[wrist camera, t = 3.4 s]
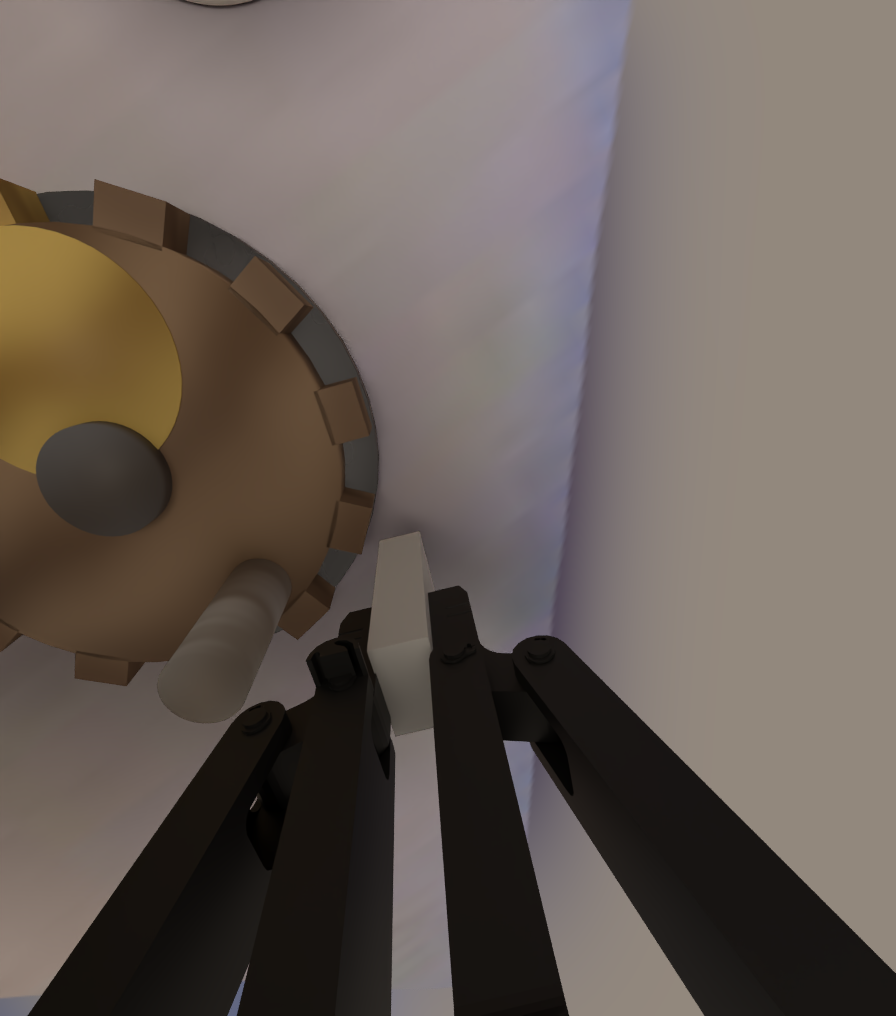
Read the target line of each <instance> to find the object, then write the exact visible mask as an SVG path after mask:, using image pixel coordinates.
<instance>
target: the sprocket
mask: <svg viewBox="0 0 896 1016" xmlns="http://www.w3.org/2000/svg"><path fill="white" fill-rule="evenodd" d="M189 223H190V215H189V214H188V213H186V212H184V211H182V210H180V209H178V208H177V207H175V206H173V205H171V204H169V203H168V202H165V201H162V200H159V199H156V198H153V197H150V196H146V195H143V194H140V193H137V192H134V191H131V190H127V189H124V188H121V187H118V186H115V185H111V184H108V183H105V182H102V181H99V180H96V179H95V181H94V206H93V226H92V225H82V224H72V223H62V222H50V221H49V219H48V217H47V215H46V212H45V210H44V208H43V206H42V204H41V202H40V200H39V198H38V196H37V194H36V192H34V191H32V190H29V189H26V188H24V187H21V186H19V185H16V184H13V183H11V182H8V181H5V180H3V179H0V652H1V651H3V650H4V649H5V648H6V647H8V646H9V645H10V644H11V643H13V642H14V641H15V640H16V639H18V638H19V637H20V636H21V635H25V636H28V637H30V638H33V639H35V640H37V641H40V642H42V643H45V644H47V645H50V646H54V647H57V648H60V649H63V650H66V651H70V652H73V653H76V656H75V678H76V679H82V680H89V681H96V682H102V683H109V684H116V685H122V686H127V685H128V684H129V682H130V681H131V680H132V678H133V677H134V676H135V675H136V673H137V672H138V671H139V669H140V668H141V667H142V666H143V664H144V663H145V662H161V661H169V662H168V663H167V664H166V666H165V667H164V669H163V670H162V672H161V673H160V675H159V678H158V683H157V688H158V693H159V696H160V698H161V700H162V702H163V703H164V705H165V706H166V707H167V708H168V709H169V710H170V711H171V712H173V713H174V714H176V715H177V716H179V717H181V718H183V719H186V720H188V721H192V722H197V723H215V722H220V721H223V720H226V719H228V718H230V717H232V716H233V715H235V714H236V713H237V712H238V711H239V710H240V709H241V707H242V706H243V704H244V702H245V700H246V697H247V695H248V693H249V690H250V688H251V686H252V683H253V681H254V679H255V676H256V674H257V672H258V669H259V667H260V665H261V662H262V660H263V658H264V655H265V653H266V651H267V648H268V646H269V644H270V641H271V639H272V636H273V634H274V632H275V629H276V627H277V625H278V626H279V627H280V628H282V629H283V630H285V631H286V632H287V633H289V634H290V635H291V636H293V637H294V638H296V639H297V640H298V639H299V638H300V637H301V636H302V635H303V634H304V633H305V632H307V631H308V630H309V629H310V628H311V627H312V626H313V625H314V624H315V623H316V622H317V621H318V620H319V619H320V618H321V617H322V616H323V615H324V614H325V613H326V612H327V611H328V610H329V609H330V606H331V602H332V598H333V594H334V591H335V587H334V586H332V585H331V584H330V583H328V582H327V581H326V580H325V579H323V578H322V577H321V576H320V575H318V574H317V573H318V571H319V570H320V567H321V565H322V563H323V561H324V559H325V557H326V555H327V552H328V550H329V548H333V549H337V550H342V551H347V552H352V553H356V554H362V550H363V546H364V541H365V537H366V533H367V529H368V525H369V521H370V517H371V513H372V508H373V502H374V497H375V494H373V493H369V492H364V491H360V490H356V489H352V488H347V487H345V456H344V448H343V443H345V442H348V441H352V440H356V439H359V438H363V437H367V436H369V435H370V432H371V429H372V425H371V421H370V418H369V415H368V412H367V409H366V406H365V402H364V399H363V396H362V393H361V390H360V386H359V383H358V380H357V377H354V378H350V379H346V380H343V381H339V382H335V383H332V384H328V385H324V383H323V381H322V379H321V377H320V376H319V374H318V372H317V370H316V368H315V367H314V365H313V363H312V361H311V360H310V358H309V357H308V355H307V354H306V353H305V351H304V350H303V348H302V347H301V346H300V344H299V343H298V342H297V340H296V339H295V337H294V336H293V335H292V331H293V330H294V329H295V328H296V327H297V326H298V325H299V323H300V322H301V321H302V320H303V319H304V318H305V317H306V315H307V314H308V313H309V312H310V311H311V310H312V309H313V308H314V307H313V306H312V305H311V304H310V303H309V302H308V301H307V300H306V299H305V298H304V297H303V296H302V295H301V294H300V293H299V292H298V291H297V290H296V289H295V288H294V287H293V286H292V285H291V284H290V283H289V282H288V281H287V280H286V279H285V278H284V277H283V276H282V275H281V274H280V273H279V272H278V271H277V270H276V269H275V268H274V267H273V266H272V265H271V264H270V263H268V262H266V261H264V260H262V259H260V258H258V257H256V256H254V258H253V259H252V260H251V261H250V262H249V264H248V265H247V266H246V267H245V268H244V270H243V271H242V272H241V273H240V274H239V276H238V277H237V278H236V279H235V280H234V281H232V280H231V279H229V278H228V277H226V276H225V275H223V274H222V273H220V272H219V271H217V270H215V269H213V268H211V267H209V266H207V265H205V264H203V263H201V262H199V261H197V260H195V259H193V258H192V257H190V256H188V255H186V254H187V244H188V234H189Z"/></svg>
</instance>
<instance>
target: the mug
mask: <svg viewBox="0 0 896 1016" xmlns="http://www.w3.org/2000/svg"><path fill="white" fill-rule="evenodd" d="M186 1H190V2H194V3H199V4H205V5H234V4H240V3H245V2H248V1H252V0H186Z"/></svg>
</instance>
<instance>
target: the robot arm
mask: <svg viewBox="0 0 896 1016" xmlns="http://www.w3.org/2000/svg"><path fill="white" fill-rule="evenodd" d="M306 662H307V665H308V667H309V670H310V672H311V675H312V678H313V680H314V683H315V685H316V691H315V695H314V697H312V698H311V699H309V700H307V701H306V702H304V703H302V704H300V705H298V706H295V707H293V708H291V709H289V710H287V711H286V710H285V708H284V706H283V705H282V704H281V703H279V702H277V701H267V702H262V703H259V704H257V705H254V706H252V707H250V708H248V709H247V710H246V711H244V712H243V713H241V714H240V715H239V716H238V717H237V718H236V719H235V720H234V722H233V723H232V724H231V725H230V727H229V728H228V730H227V731H226V733H225V734H224V735H223V737H222V738H221V740H220V741H219V743H218V744H217V745H216V747H215V748H214V750H213V751H212V753H211V754H210V755H209V757H208V758H207V760H206V761H205V763H204V764H203V765H202V767H201V768H200V770H199V771H198V773H197V774H196V775H195V777H194V778H193V780H192V781H191V783H190V784H189V785H188V787H187V788H186V790H185V791H184V793H183V794H182V795H181V797H180V798H179V800H178V801H177V803H176V804H175V805H174V807H173V808H172V810H171V811H170V813H169V814H168V815H167V817H166V818H165V820H164V821H163V823H162V824H161V825H160V827H159V828H158V830H157V831H156V833H155V834H154V836H153V837H152V838H151V840H150V841H149V843H148V844H147V846H146V847H145V848H144V850H143V851H142V853H141V854H140V856H139V857H138V858H137V860H136V861H135V863H134V864H133V866H132V867H131V868H130V870H129V871H128V873H127V874H126V876H125V877H124V878H123V880H122V881H121V883H120V884H119V886H118V887H117V888H116V890H115V891H114V893H113V894H112V896H111V897H110V898H109V900H108V901H107V903H106V904H105V906H104V907H103V908H102V910H101V911H100V913H99V914H98V916H97V917H96V918H95V920H94V921H93V923H92V924H91V926H90V927H89V928H88V930H87V931H86V933H85V934H84V936H83V937H82V938H81V940H80V941H79V943H78V944H77V946H76V947H75V949H74V950H73V951H72V953H71V954H70V956H69V957H68V959H67V960H66V961H65V963H64V964H63V966H62V967H61V969H60V970H59V971H58V973H57V974H56V976H55V977H54V979H53V980H52V981H51V983H50V984H49V986H48V987H47V989H46V990H45V991H44V993H43V994H42V996H41V997H40V999H39V1000H38V1001H37V1003H36V1004H35V1006H34V1007H33V1009H32V1010H31V1011H30V1013H29V1015H28V1016H227V1015H228V1013H229V1010H230V1008H231V1005H232V1003H233V1001H234V998H235V996H236V994H237V991H238V989H239V986H240V984H241V982H242V979H243V977H244V974H245V972H246V970H247V967H248V965H249V967H248V972H247V976H246V980H245V984H244V988H243V992H242V996H241V1001H240V1005H239V1009H238V1013H237V1016H391V978H392V918H393V858H394V798H395V750H394V746H393V743H392V740H391V737H390V728H391V725H392V728H393V731H394V734H395V736H400V735H404V734H408V733H412V732H416V731H420V730H425V729H429V728H433V727H434V739H435V752H436V766H437V780H438V794H439V808H440V822H441V836H442V849H443V863H444V877H445V891H446V905H447V919H448V933H449V946H450V960H451V974H452V988H453V1002H454V1016H569V1014H568V1010H567V1006H566V1002H565V998H564V993H563V989H562V985H561V981H560V977H559V973H558V968H557V964H556V960H555V956H554V952H553V948H552V943H551V939H550V935H549V931H548V927H547V922H546V918H545V914H544V910H543V906H542V901H541V897H540V893H539V889H538V885H537V881H536V876H535V872H534V868H533V864H532V860H531V856H530V851H529V847H528V843H527V839H526V835H525V830H524V826H523V822H522V818H521V814H520V810H519V805H518V801H517V797H516V793H515V789H514V784H513V780H512V776H511V772H510V768H509V764H508V759H507V755H506V751H505V747H504V743H503V740H508V741H526V742H530V744H531V747H532V749H533V751H534V752H535V754H536V755H537V757H538V758H539V760H540V762H541V763H542V765H543V766H544V768H545V769H546V771H547V772H548V774H549V775H550V777H551V779H552V780H553V781H554V783H555V785H556V786H557V788H558V789H559V791H560V792H561V794H562V796H563V797H564V799H565V800H566V802H567V803H568V805H569V806H570V808H571V810H572V811H573V813H574V814H575V816H576V817H577V819H578V820H579V822H580V824H581V825H582V827H583V828H584V830H585V831H586V833H587V834H588V836H589V837H590V839H591V841H592V842H593V844H594V845H595V847H596V848H597V850H598V851H599V853H600V854H601V856H602V858H603V859H604V861H605V862H606V864H607V865H608V867H609V868H610V870H611V871H612V873H613V875H614V876H615V878H616V879H617V881H618V882H619V884H620V885H621V887H622V888H623V890H624V892H625V893H626V895H627V896H628V898H629V899H630V901H631V902H632V904H633V906H634V907H635V909H636V910H637V912H638V913H639V915H640V916H641V918H642V920H643V921H644V923H645V924H646V926H647V927H648V929H649V930H650V932H651V934H652V935H653V937H654V938H655V940H656V941H657V943H658V944H659V946H660V947H661V949H662V950H663V952H664V954H665V955H666V957H667V958H668V960H669V961H670V963H671V965H672V966H673V968H674V969H675V971H676V972H677V974H678V975H679V977H680V978H681V980H682V981H683V983H684V985H685V986H686V988H687V989H688V991H689V992H690V994H691V995H692V997H693V999H694V1000H695V1002H696V1003H697V1004H698V1006H699V1008H700V1009H701V1011H702V1012H703V1014H704V1016H896V973H895V972H894V971H893V970H892V969H891V968H890V967H889V966H888V965H887V964H886V963H884V961H883V960H882V959H881V958H880V957H879V956H878V955H877V954H876V953H875V952H874V951H873V950H872V949H871V948H870V947H869V946H868V945H867V944H866V943H865V942H864V941H863V940H862V939H861V938H859V936H858V935H857V934H856V933H855V932H854V931H853V930H852V929H851V928H849V926H848V925H847V924H846V923H845V922H844V921H843V920H842V919H841V918H840V917H839V916H837V914H836V913H835V912H834V911H833V910H832V909H831V908H830V907H829V906H828V905H826V903H825V902H823V900H821V899H820V897H819V896H818V895H817V894H816V893H815V892H814V891H813V890H811V888H810V887H808V885H807V884H806V883H804V881H803V880H802V879H801V878H799V877H798V875H796V873H795V872H794V871H793V870H792V869H791V868H790V867H789V866H787V864H785V862H784V861H783V860H781V858H779V857H778V856H777V855H776V853H775V852H774V851H773V850H771V848H769V846H768V845H767V844H766V843H765V842H764V841H763V840H762V839H761V838H760V837H758V835H757V834H755V832H754V831H753V830H751V828H749V826H748V825H746V824H745V823H744V822H743V821H742V820H741V818H740V817H738V816H737V815H736V814H735V813H734V812H733V811H732V810H731V809H730V808H729V807H728V806H727V805H726V804H725V803H724V802H723V801H722V800H721V799H720V798H719V797H718V796H717V795H716V794H715V793H714V792H713V791H712V790H711V789H710V788H709V787H708V786H707V785H706V784H705V783H704V782H703V781H702V780H701V779H700V778H699V777H698V776H697V775H696V774H695V773H694V772H693V771H692V770H691V769H690V768H689V767H688V766H687V765H686V764H685V763H684V762H683V761H682V760H681V759H680V758H679V757H678V756H677V755H676V754H675V753H674V752H673V751H672V750H671V749H670V748H669V747H668V746H667V745H666V744H665V743H664V742H663V741H662V740H661V739H660V738H659V737H658V736H657V735H656V734H655V733H654V732H653V731H652V730H651V729H650V728H649V727H648V726H647V725H646V724H645V723H644V722H643V721H642V720H641V719H640V718H639V717H638V716H637V715H636V714H635V713H634V712H633V711H632V710H631V709H630V708H629V707H628V706H627V705H626V704H625V703H624V702H623V701H622V700H621V699H620V698H619V697H618V696H617V695H616V694H615V693H614V692H613V691H612V690H611V689H610V688H609V687H608V686H607V685H606V684H605V683H604V682H603V681H602V680H601V679H600V678H599V677H598V676H597V675H596V674H595V673H594V672H593V671H592V670H591V669H590V668H589V667H588V666H587V665H586V664H585V663H584V662H583V661H582V660H581V659H580V658H579V657H578V656H577V655H576V654H575V653H574V652H573V651H572V650H571V649H570V648H569V647H568V646H567V645H566V644H565V643H564V642H563V641H561V640H559V639H558V638H555V637H551V636H547V635H546V636H534V637H530V638H526V639H525V640H523V641H521V642H520V643H518V644H517V646H516V647H515V648H514V649H513V653H496V652H492V651H489V650H488V649H486V648H484V647H483V646H482V645H481V644H480V641H479V639H478V635H477V631H476V627H475V623H474V619H473V615H472V610H471V606H470V602H469V598H468V594H467V592H466V591H465V590H464V589H462V588H461V587H460V586H455V587H450V588H446V589H442V590H438V591H435V589H434V585H433V581H432V577H431V573H430V570H429V566H428V562H427V558H426V554H425V550H424V547H423V543H422V539H421V535H420V531H418V532H414V533H409V534H405V535H401V536H397V537H392V538H388V539H384V540H380V542H379V550H378V559H377V567H376V576H375V585H374V593H373V602H372V607H371V608H367V609H362V610H358V611H354V612H350V613H349V614H348V615H347V616H346V618H345V619H344V620H343V621H342V623H341V625H340V630H339V636H338V638H334V639H332V640H329V641H326V642H324V643H323V644H321V645H319V646H317V647H316V648H315V649H314V650H313V651H312V652H311V653H310V654H309V656H308V657H307V659H306ZM256 796H257V798H258V799H257V801H256V802H255V804H254V806H253V807H252V808H251V810H250V807H251V805H252V803H253V802H254V800H255V798H256ZM249 962H250V963H249Z"/></svg>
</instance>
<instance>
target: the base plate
mask: <svg viewBox="0 0 896 1016" xmlns="http://www.w3.org/2000/svg"><path fill="white" fill-rule="evenodd" d="M37 196H38V198H39V200H40V202H41V204H42V206H43V208H44V210H45V212H46V215H47V217H48V219H49V221H50V222H62V223H72V224H82V225H92V226H93V206H94V191H61V192H45V193H40V194H37ZM189 215H190V223H189V234H188V244H187V254H186V255H188V256H190V257H192V258H193V259H195V260H197V261H199V262H201V263H203V264H205V265H207V266H209V267H211V268H213V269H215V270H217V271H219V272H220V273H222V274H223V275H225V276H226V277H228V278H229V279H231V280H232V281H234V280H235V279H236V278H237V277H238V276H239V274H240V273H241V272H242V271H243V270H244V268H245V267H246V266H247V265H248V264H249V262H250V261H251V260H252V259H253V258H254V256H256V257H258V258H260V259H262V260H264V261H266V262H268V263H270V264H271V265H272V266H273V267H274V268H275V269H276V270H277V271H278V272H279V273H280V274H281V275H282V276H283V277H284V278H285V279H286V280H287V281H288V282H289V283H290V284H291V285H292V286H293V287H294V288H295V289H296V290H297V291H298V292H299V293H300V294H301V295H302V296H303V297H304V298H305V299H306V300H307V301H308V302H309V303H310V304H311V305H312V306H313V307H314V308H313V309H312V310H311V311H310V312H309V313H308V314H307V315H306V317H305V318H304V319H303V320H302V321H301V322H300V323H299V325H298V326H297V327H296V328H295V329H294V330H293V331H292V335H293V336H294V337H295V339H296V340H297V342H298V343H299V344H300V346H301V347H302V348H303V350H304V351H305V353H306V354H307V355H308V357H309V358H310V360H311V361H312V363H313V365H314V367H315V368H316V370H317V372H318V374H319V376H320V377H321V379H322V381H323V383H324V385H328V384H332V383H335V382H339V381H343V380H346V379H350V378H354V377H357V380H358V383H359V386H360V390H361V393H362V396H363V399H364V402H365V406H366V409H367V412H368V415H369V418H370V421H371V425H372V429H371V432H370V435H369V436H367V437H363V438H359V439H356V440H352V441H348V442H345V443H343V448H344V456H345V487H347V488H352V489H356V490H360V491H364V492H369V493H373V494H375V496H376V490H377V484H378V460H379V453H378V444H377V434H376V426H375V422H374V418H373V413H372V409H371V405H370V401H369V397H368V395H367V392H366V389H365V387H364V384H363V381H362V379H361V376H360V374H359V371H358V368H357V367H356V365H355V363H354V361H353V359H352V357H351V355H350V353H349V351H348V350H347V348H346V346H345V344H344V342H343V340H342V339H341V337H340V336H339V334H338V333H337V332H336V330H335V329H334V327H333V326H332V324H331V323H330V321H329V320H328V319H327V317H326V316H325V314H324V313H323V312H322V311H321V309H320V308H319V307H318V306H317V305H316V304H315V303H314V302H313V300H312V299H311V298H310V297H309V296H308V295H307V294H306V292H305V291H304V290H303V289H302V288H301V287H300V286H299V285H298V284H297V283H296V282H295V281H294V280H292V279H291V278H290V277H289V276H288V275H287V274H286V273H285V272H283V271H282V270H281V269H280V268H279V267H278V266H277V265H276V264H274V263H273V262H272V261H271V260H269V259H268V258H266V257H265V256H263V255H262V254H260V253H259V252H258V251H256V250H255V249H253V248H252V247H250V246H249V245H248V244H246V243H245V242H243V241H242V240H240V239H238V238H236V237H235V236H233V235H231V234H229V233H227V232H225V231H223V230H221V229H220V228H218V227H216V226H214V225H212V224H210V223H208V222H206V221H205V220H203V219H201V218H198V217H196V216H193V215H191V214H189ZM374 502H375V497H374ZM374 502H373V508H374ZM373 508H372V513H373ZM372 513H371V517H372ZM371 517H370V520H371ZM369 523H370V521H369ZM368 526H369V525H368ZM356 555H357V554H356V553H352V552H347V551H342V550H337V549H333V548H329V550H328V552H327V555H326V557H325V559H324V561H323V563H322V565H321V567H320V570H319V571H318V573H317V574H318V575H320V576H321V577H322V578H323V579H325V580H326V581H327V582H328V583H330V584H331V585H332V586H334V587H335V586H336V585H337V584H338V583H339V582H340V580H341V579H342V577H343V576H344V575H345V573H346V572H347V570H348V569H349V567H350V566H351V564H352V563H353V561H354V559H355V557H356ZM281 630H283V629H282V628H280V627H279V626H278V625H277V627H276V629H275V632H274V634H275V633H277V632H279V631H281Z"/></svg>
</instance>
